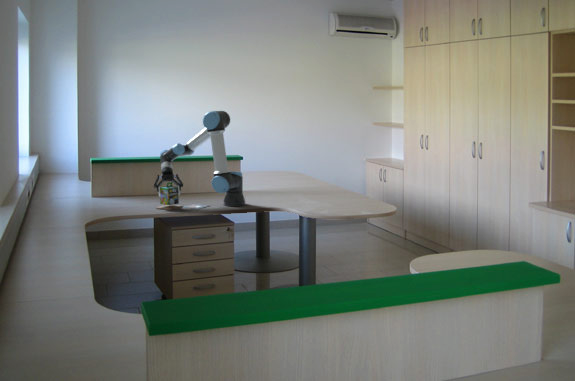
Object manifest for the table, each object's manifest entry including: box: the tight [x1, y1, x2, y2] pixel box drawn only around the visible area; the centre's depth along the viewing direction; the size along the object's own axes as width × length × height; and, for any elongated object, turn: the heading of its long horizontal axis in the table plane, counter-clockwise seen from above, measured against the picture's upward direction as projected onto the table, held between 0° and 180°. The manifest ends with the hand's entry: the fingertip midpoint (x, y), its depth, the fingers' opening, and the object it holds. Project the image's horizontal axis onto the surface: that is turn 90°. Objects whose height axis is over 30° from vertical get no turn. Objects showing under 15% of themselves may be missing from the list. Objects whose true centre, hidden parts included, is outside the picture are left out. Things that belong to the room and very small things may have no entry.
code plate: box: [180, 203, 211, 210], centre depth 432 cm, size 14×14×1 cm
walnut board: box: [155, 204, 184, 211], centre depth 429 cm, size 13×13×1 cm
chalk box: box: [159, 181, 180, 205], centre depth 427 cm, size 9×9×15 cm
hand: (169, 195), depth 425 cm, fingers closed on chalk box, 12 cm apart
